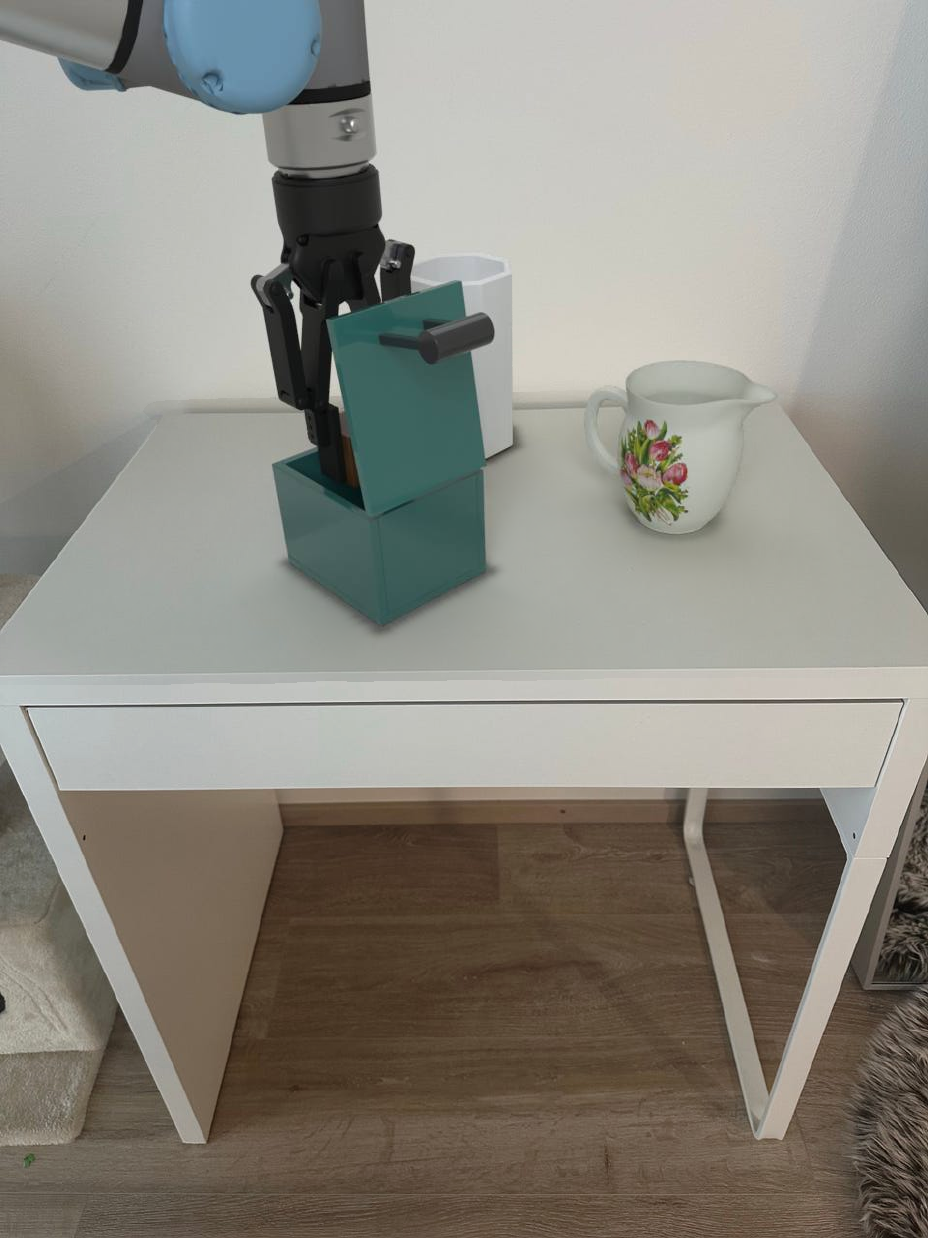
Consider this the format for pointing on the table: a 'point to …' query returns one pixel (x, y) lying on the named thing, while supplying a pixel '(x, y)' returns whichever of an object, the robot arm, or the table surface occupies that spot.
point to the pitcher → (677, 439)
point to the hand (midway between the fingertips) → (359, 466)
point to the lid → (411, 392)
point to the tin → (380, 538)
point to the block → (348, 453)
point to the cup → (493, 362)
